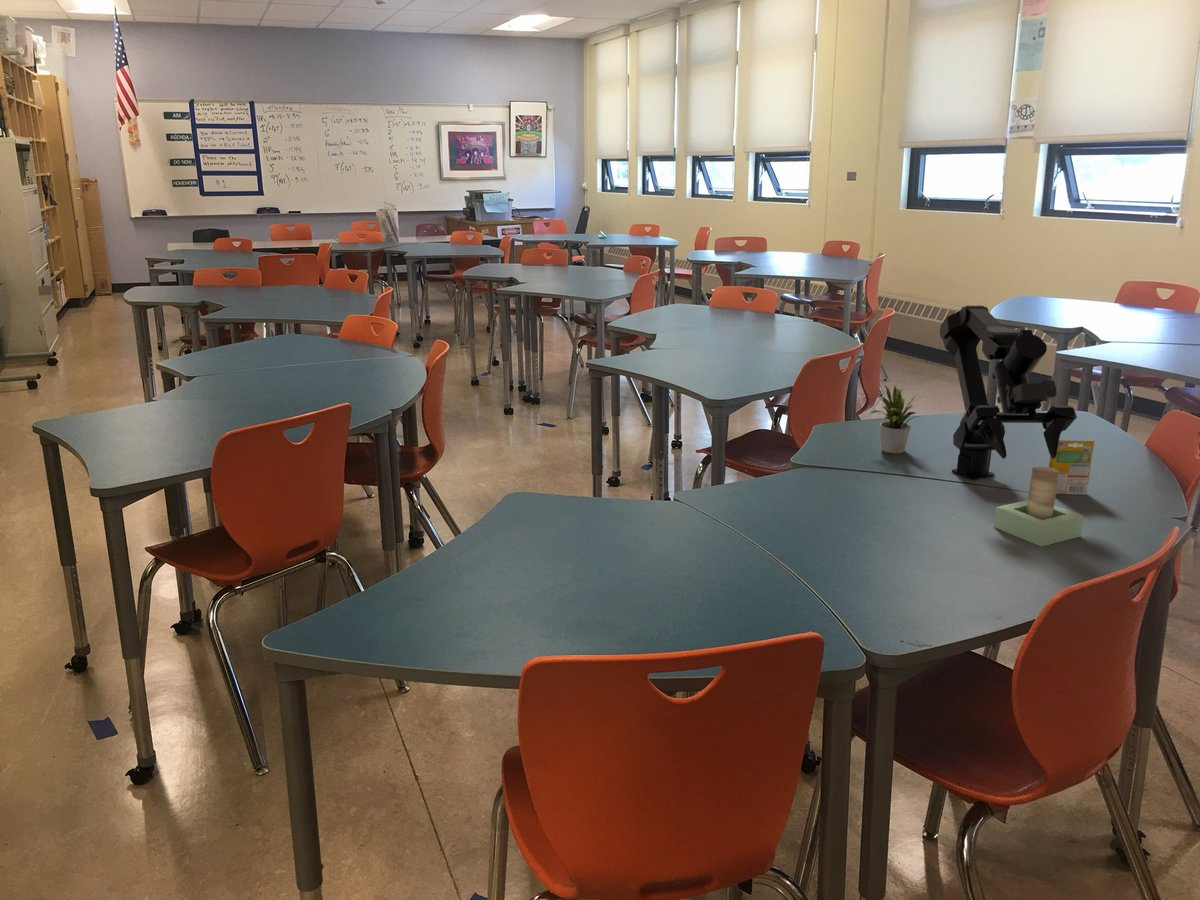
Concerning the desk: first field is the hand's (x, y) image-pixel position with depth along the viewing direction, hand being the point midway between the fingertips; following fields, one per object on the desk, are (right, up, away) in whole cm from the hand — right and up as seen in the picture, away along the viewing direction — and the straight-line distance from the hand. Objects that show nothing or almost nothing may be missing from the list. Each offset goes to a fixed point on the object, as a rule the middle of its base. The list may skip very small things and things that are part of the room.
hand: (1029, 457), depth 170 cm
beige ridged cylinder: (0, -14, -3) cm, 14 cm away
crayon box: (+16, -8, +17) cm, 24 cm away
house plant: (-12, +1, +47) cm, 48 cm away
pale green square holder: (0, -14, -3) cm, 14 cm away
